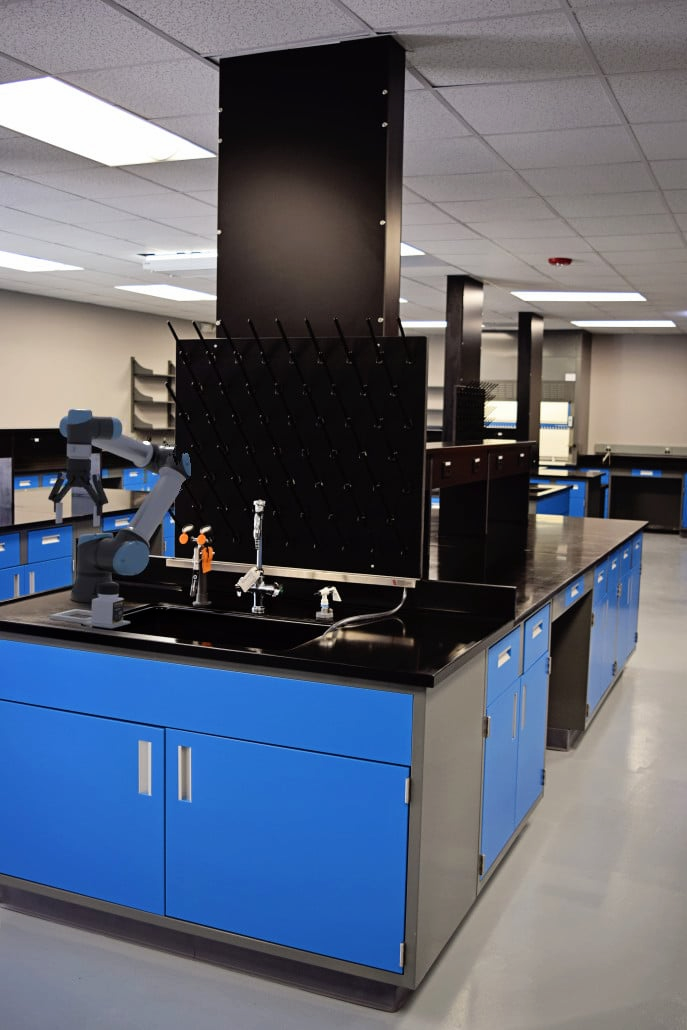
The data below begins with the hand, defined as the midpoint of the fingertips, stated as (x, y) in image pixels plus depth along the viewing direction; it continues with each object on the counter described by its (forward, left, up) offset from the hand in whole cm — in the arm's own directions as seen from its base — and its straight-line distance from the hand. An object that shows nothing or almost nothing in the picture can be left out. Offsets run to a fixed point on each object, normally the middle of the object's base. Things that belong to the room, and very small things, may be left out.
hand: (77, 524), depth 301 cm
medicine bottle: (+12, +20, -28) cm, 36 cm away
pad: (+12, +20, -28) cm, 36 cm away
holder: (+9, +8, -28) cm, 30 cm away
